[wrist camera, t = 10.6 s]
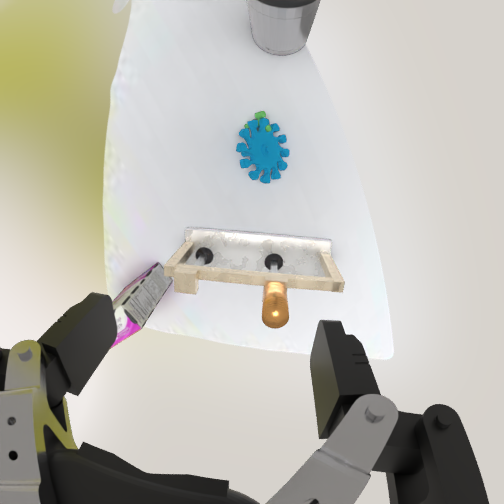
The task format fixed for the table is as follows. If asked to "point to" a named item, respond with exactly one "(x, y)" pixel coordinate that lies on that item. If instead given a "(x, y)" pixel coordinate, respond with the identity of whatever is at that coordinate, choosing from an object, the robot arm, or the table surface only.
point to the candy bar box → (139, 301)
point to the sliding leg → (275, 300)
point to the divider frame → (252, 260)
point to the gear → (262, 148)
